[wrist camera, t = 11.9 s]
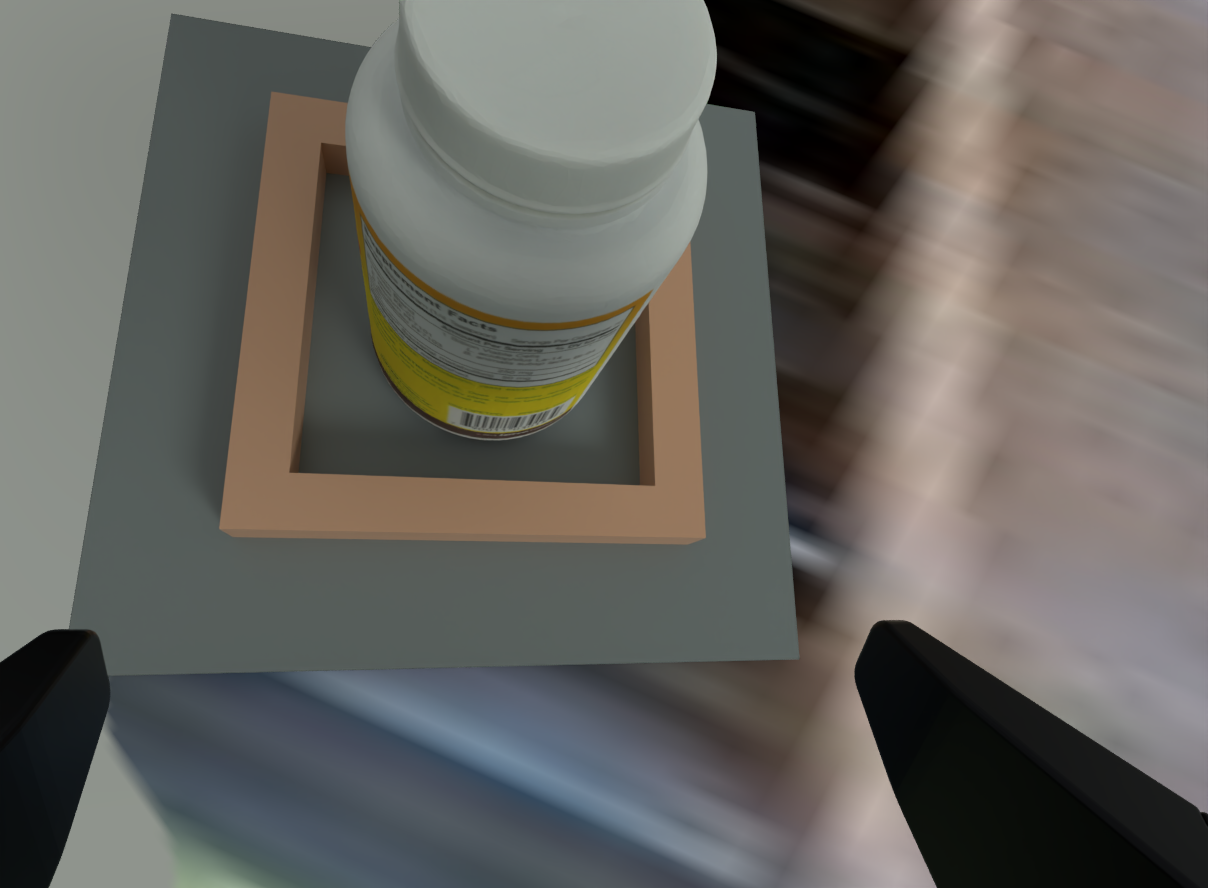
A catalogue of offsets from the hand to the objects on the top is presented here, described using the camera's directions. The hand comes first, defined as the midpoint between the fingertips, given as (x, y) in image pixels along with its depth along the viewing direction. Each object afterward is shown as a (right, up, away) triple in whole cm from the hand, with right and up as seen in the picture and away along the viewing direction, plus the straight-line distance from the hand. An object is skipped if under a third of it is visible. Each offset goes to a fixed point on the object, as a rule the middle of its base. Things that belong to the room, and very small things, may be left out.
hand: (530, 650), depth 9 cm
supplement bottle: (-2, +5, +10) cm, 11 cm away
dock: (-2, +5, +11) cm, 12 cm away
